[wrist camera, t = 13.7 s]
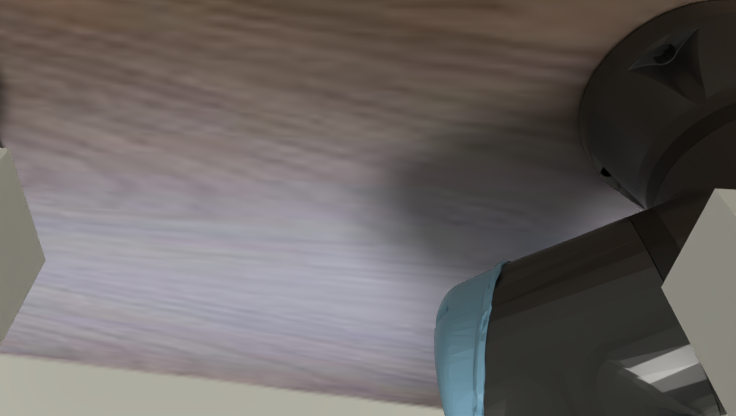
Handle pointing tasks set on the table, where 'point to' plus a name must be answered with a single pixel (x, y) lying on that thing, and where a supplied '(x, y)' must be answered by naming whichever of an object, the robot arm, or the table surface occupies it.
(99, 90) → the table surface
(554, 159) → the table surface
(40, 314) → the table surface
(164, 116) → the table surface
